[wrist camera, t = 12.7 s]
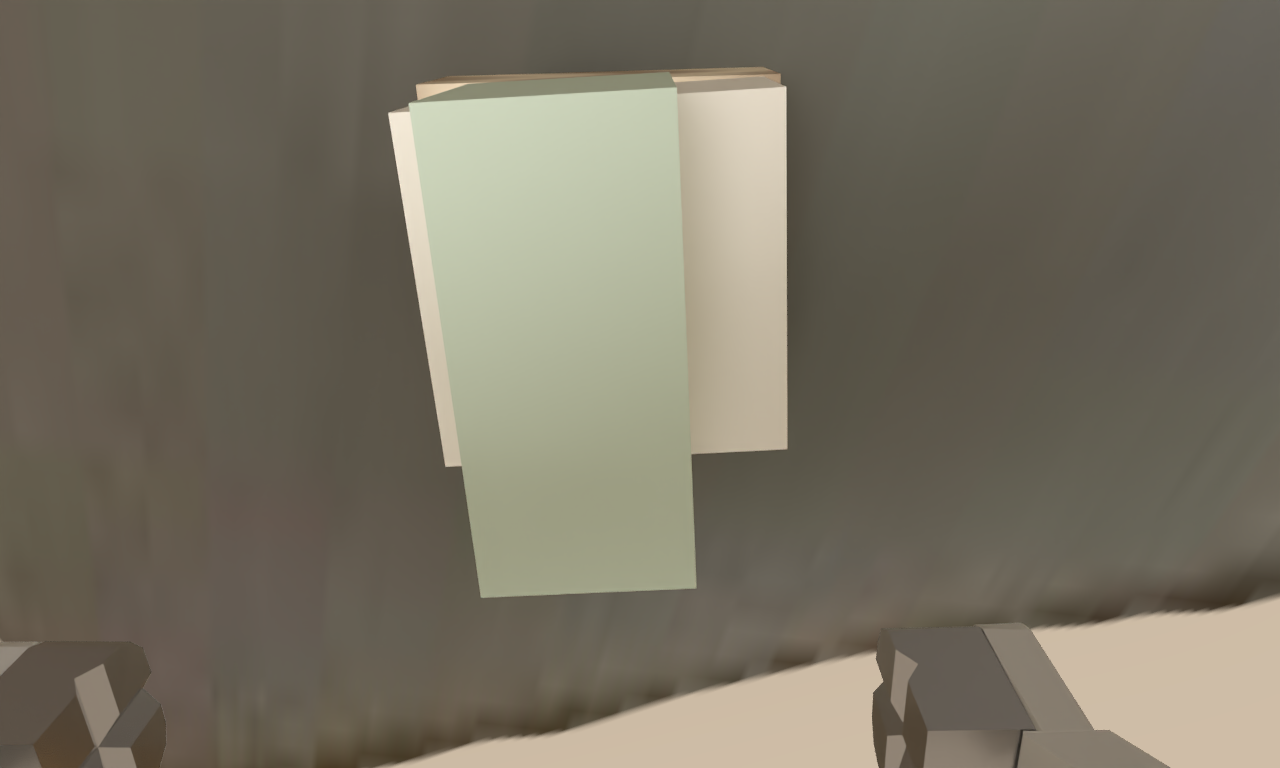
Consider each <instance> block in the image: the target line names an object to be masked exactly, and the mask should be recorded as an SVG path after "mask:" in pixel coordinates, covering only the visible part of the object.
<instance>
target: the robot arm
mask: <svg viewBox="0 0 1280 768" xmlns="http://www.w3.org/2000/svg"><path fill="white" fill-rule="evenodd" d="M876 660H877V663H878V666H879V669H880V672H881V675H882V678H883V681H884V682H883V683H882V684H881V685H880V686H879V687H878V688H877V689H876V690H875V691H874V693H873V710H872V724H873V738H874V747H875V752H876V757H877V762H878V766H879V768H1170V767H1169V766H1167V765H1165V764H1164V763H1162V762H1160V761H1159V760H1157V759H1155V758H1154V757H1152V756H1150V755H1149V754H1147V753H1145V752H1144V751H1142V750H1141V749H1139V748H1137V747H1136V746H1134V745H1132V744H1131V743H1129V742H1128V741H1126V740H1124V739H1123V738H1121V737H1120V736H1118V735H1116V734H1114V733H1113V732H1111V731H1110V730H1094V729H1093V727H1092V725H1091V724H1090V722H1089V721H1088V719H1087V718H1086V716H1085V715H1084V713H1083V711H1082V710H1081V708H1080V707H1079V705H1078V704H1077V702H1076V700H1075V699H1074V697H1073V696H1072V694H1071V693H1070V691H1069V689H1068V688H1067V686H1066V685H1065V683H1064V681H1063V680H1062V678H1061V677H1060V675H1059V674H1058V672H1057V671H1056V669H1055V667H1054V666H1053V664H1052V663H1051V661H1050V660H1049V658H1048V656H1047V655H1046V653H1045V652H1044V650H1043V649H1042V647H1041V645H1040V644H1039V642H1038V641H1037V639H1036V638H1035V636H1034V634H1033V633H1032V631H1031V630H1030V628H1029V627H1027V626H1025V625H1024V624H1022V623H1004V624H982V625H974V627H928V628H884V629H881V632H880V635H879V638H878V645H877V656H876ZM150 674H151V669H150V666H149V663H148V660H147V658H146V655H145V652H144V649H143V647H141V646H138V645H136V644H134V643H132V642H88V641H45V642H0V768H160V765H161V761H162V758H163V754H164V751H165V747H166V720H165V717H164V713H163V709H162V706H161V704H160V703H159V702H158V701H157V700H156V699H154V698H153V697H152V696H151V695H150V694H149V693H147V692H146V691H145V690H144V689H143V687H144V685H145V683H146V681H147V679H148V678H149V676H150Z"/></svg>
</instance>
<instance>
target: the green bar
mask: <svg viewBox="0 0 1280 768" xmlns="http://www.w3.org/2000/svg"><path fill="white" fill-rule="evenodd" d="M409 110H410V116H411V123H412V130H413V137H414V144H415V150H416V157H417V164H418V171H419V178H420V185H421V191H422V198H423V205H424V212H425V219H426V226H427V232H428V239H429V246H430V253H431V260H432V267H433V273H434V280H435V287H436V294H437V301H438V307H439V314H440V321H441V328H442V335H443V342H444V348H445V355H446V362H447V369H448V376H449V383H450V389H451V396H452V403H453V410H454V417H455V423H456V430H457V437H458V444H459V451H460V458H461V464H462V471H463V478H464V485H465V492H466V499H467V505H468V512H469V519H470V526H471V533H472V539H473V546H474V553H475V560H476V567H477V574H478V580H479V587H480V594H481V598H486V597H509V596H532V595H555V594H578V593H601V592H624V591H647V590H670V589H693V588H696V564H695V538H694V513H693V487H692V462H691V437H690V411H689V386H688V360H687V335H686V309H685V284H684V259H683V233H682V208H681V182H680V157H679V131H678V106H677V87H676V85H675V83H674V81H673V79H672V76H671V74H670V72H657V73H641V74H624V75H607V76H590V77H574V78H557V79H540V80H523V81H506V82H490V83H473V84H466V85H463V86H460V87H457V88H454V89H451V90H448V91H445V92H441V93H438V94H435V95H432V96H429V97H426V98H423V99H420V100H417V101H414V102H411V103H409Z"/></svg>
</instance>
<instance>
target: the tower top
mask: <svg viewBox="0 0 1280 768" xmlns="http://www.w3.org/2000/svg"><path fill="white" fill-rule="evenodd" d="M674 83H675V85H676V87H677V106H678V131H679V157H680V182H681V208H682V233H683V259H684V284H685V309H686V335H687V360H688V386H689V411H690V437H691V454H703V453H723V452H742V451H762V450H781V449H787V159H786V86H784V85H781V84H779V83H777V82H775V81H773V80H770V79H768V78H766V77H764V76H759V77H744V78H729V79H714V80H699V81H683V82H674ZM388 114H389V121H390V127H391V133H392V139H393V145H394V151H395V158H396V164H397V170H398V176H399V182H400V189H401V195H402V201H403V207H404V213H405V219H406V226H407V232H408V238H409V244H410V250H411V256H412V263H413V269H414V275H415V281H416V287H417V293H418V300H419V306H420V312H421V318H422V324H423V330H424V337H425V343H426V349H427V355H428V361H429V368H430V374H431V380H432V386H433V392H434V398H435V405H436V411H437V417H438V423H439V429H440V435H441V442H442V448H443V454H444V460H445V466H446V467H451V466H462V464H461V458H460V451H459V444H458V437H457V430H456V423H455V417H454V410H453V403H452V396H451V389H450V383H449V376H448V369H447V362H446V355H445V348H444V342H443V335H442V328H441V321H440V314H439V307H438V301H437V294H436V287H435V280H434V273H433V267H432V260H431V253H430V246H429V239H428V232H427V226H426V219H425V212H424V205H423V198H422V191H421V185H420V178H419V171H418V164H417V157H416V150H415V144H414V137H413V130H412V123H411V116H410V110H409V106H408V107H405V108H402V109H399V110H396V111H393V112H390V113H388Z"/></svg>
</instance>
